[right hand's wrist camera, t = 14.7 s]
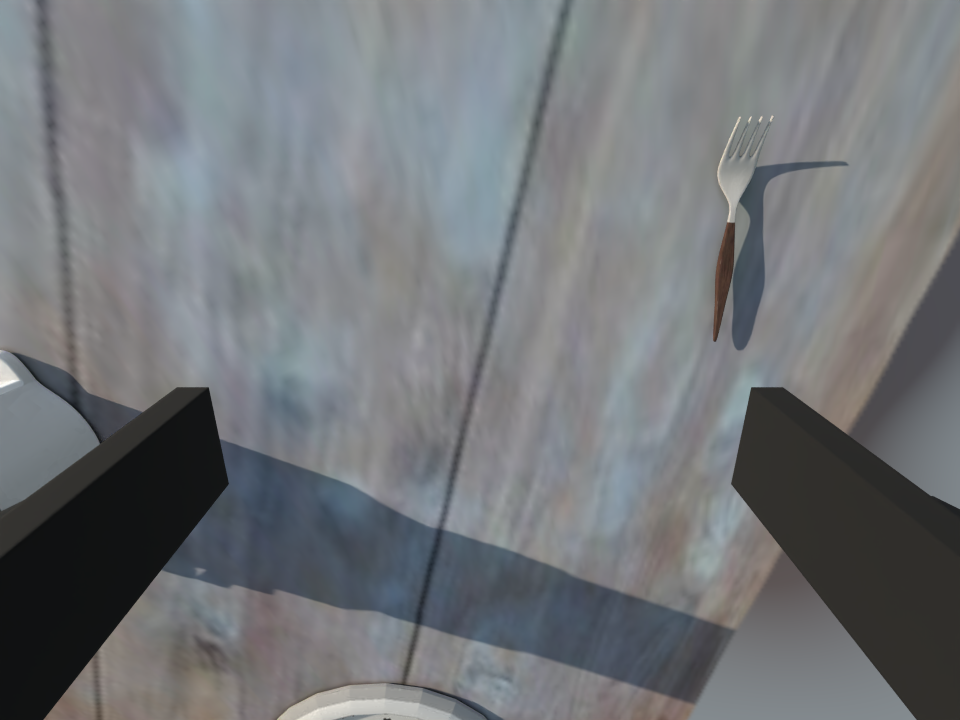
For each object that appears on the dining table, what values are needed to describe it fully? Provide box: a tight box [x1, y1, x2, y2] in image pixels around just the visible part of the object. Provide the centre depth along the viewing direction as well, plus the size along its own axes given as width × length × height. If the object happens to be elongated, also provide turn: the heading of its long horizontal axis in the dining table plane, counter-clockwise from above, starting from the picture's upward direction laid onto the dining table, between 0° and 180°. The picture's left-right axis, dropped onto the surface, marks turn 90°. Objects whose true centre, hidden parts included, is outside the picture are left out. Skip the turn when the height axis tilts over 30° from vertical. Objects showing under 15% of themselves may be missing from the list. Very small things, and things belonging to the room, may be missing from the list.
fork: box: [713, 116, 774, 342], centre depth 37 cm, size 3×16×2 cm, turn 2°
